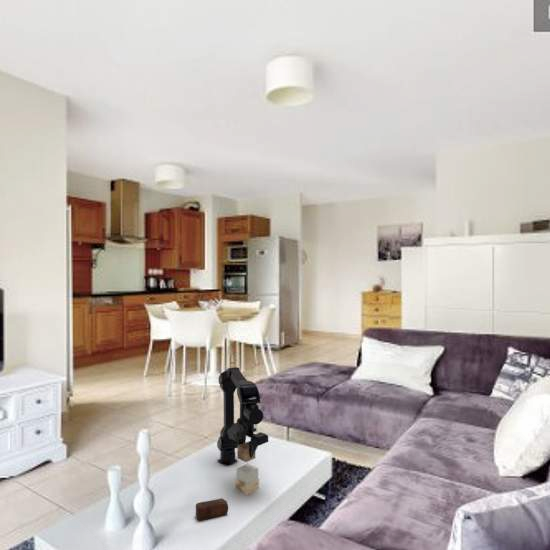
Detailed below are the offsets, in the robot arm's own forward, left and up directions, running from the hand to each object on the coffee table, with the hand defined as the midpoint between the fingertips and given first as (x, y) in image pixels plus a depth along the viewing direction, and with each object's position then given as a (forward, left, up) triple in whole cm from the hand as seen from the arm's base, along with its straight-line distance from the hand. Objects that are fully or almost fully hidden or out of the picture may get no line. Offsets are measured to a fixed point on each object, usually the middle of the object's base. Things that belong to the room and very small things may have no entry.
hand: (246, 455), depth 162 cm
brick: (+5, -21, -13) cm, 25 cm away
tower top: (0, +1, -9) cm, 9 cm away
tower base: (0, 0, -13) cm, 13 cm away
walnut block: (0, 0, -1) cm, 1 cm away
